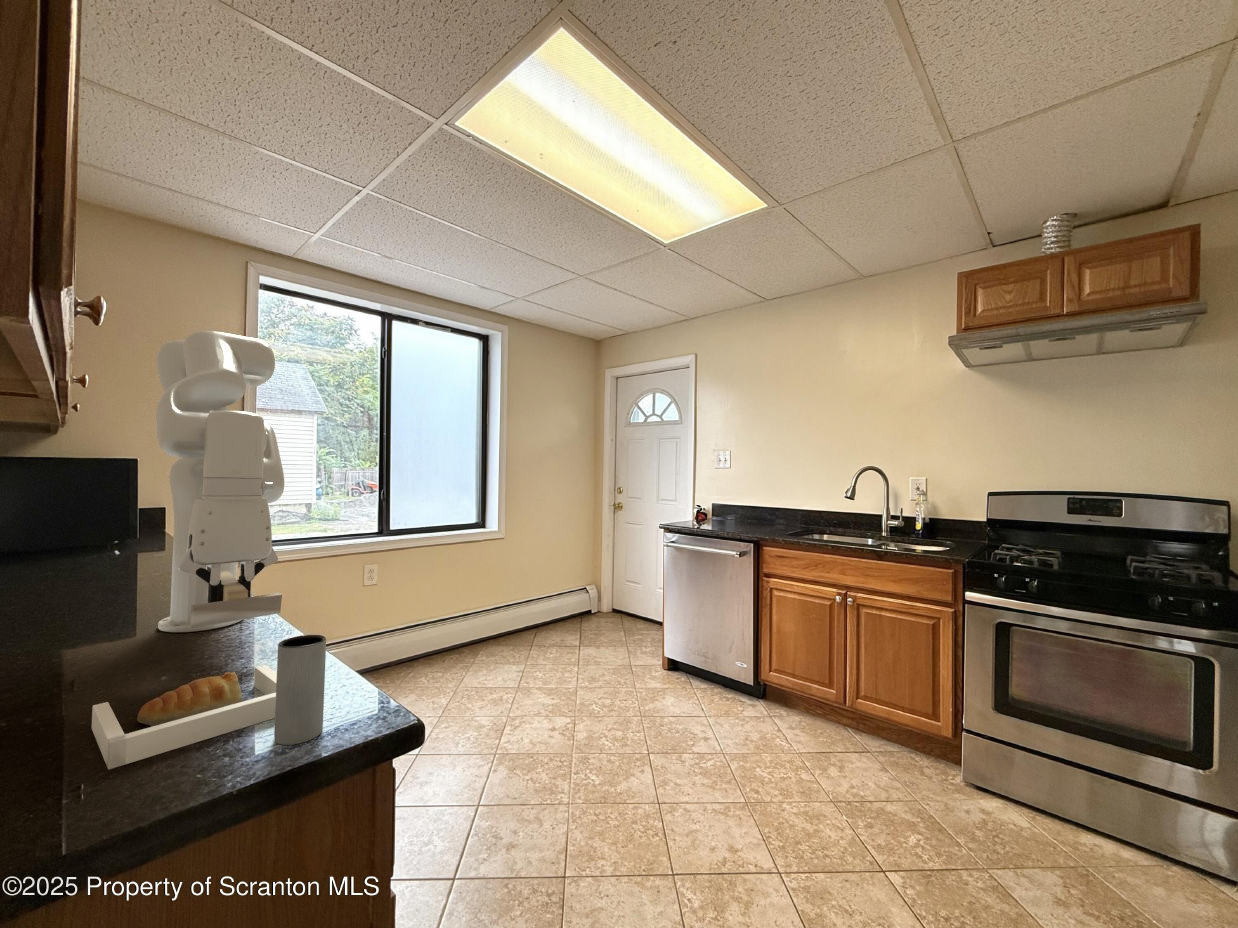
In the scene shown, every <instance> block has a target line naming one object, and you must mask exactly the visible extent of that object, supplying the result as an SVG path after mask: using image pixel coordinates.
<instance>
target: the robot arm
mask: <svg viewBox="0 0 1238 928" xmlns="http://www.w3.org/2000/svg"><path fill="white" fill-rule="evenodd" d="M156 361H157V362H156V364H157V373H158V379H159V381H160V384H161V387H162V389H163V393H162V394H161V396H160V398H159V400H158V402H157V407H156V414H155V416H156V417H155V418H156V420H155V421H156V435H157V436H156V437H157V442H158V446H159V447H160V449H161V450H162V451H163V452H164V453H165V454H166V455H168V456H170V457H175V458H179V459H177V460H176V461H175V462H173V464H172V466H171V467H170V470H169V477H168V478H169V486H170V494H171V499H172V508H173V536H172V537H173V541H172V545H173V546H172V561H171V563H172V565H171V566H172V567H171V583H170V584H171V586H170V587H171V588H170V610H169V611H170V612H169V616H167V617H164V618H162V619H160V620H159V621H158V623H157V627H158V630H159V631H162V632H165V633H191V632H192V633H193V632H200V631H208V630H214V629H219V628H224V627H227V626H230V625H231V626H232V625H234V624H236V623H239V622H241V621H243V620H244V619H242V620H236V621H230V622H225V623H219V624H213V625H207V626H201V627H195V628H191V627H190V616H191V605H198V604H205V603H212V602H219V601H223V587H224V585H222V584H221V580H220V574H221V571H226V570H228V571H229V572H230V573H231V574H232V575H233V576H234V577H235V578H236V579H237V580H238V581H239V583H240V584H241V585H243V586H244V587H245V588H246V589H247V590H248V597H253V594H252V592H251V590H252V589H251V588H252V581H253V580H254V579H255V577H256V576H257V575H258V574H259V573H260V572H262V570H264V568H268V567H269V566H272V565H273V564H275V563H276V562H278V561H279V557H278V555H277V554H276V551H275V550H274V547H273V534H272V533H273V532H272V522H271V521H272V520H271V514H270V509H269V504H272V503H275V502H277V501H278V500H279V499H281V497H282V495H283V493H284V490H285V474H284V468H283V464H282V461H281V460H282V459H281V458H282V457H281V454H280V450H279V445H278V440H277V437H276V432H275V430H274V429H273V427H272V426H271V425H270V424H269V423H268V422H266V421H265V420H264V418H263V417H262V416H261V415H260V414H257V413H253V412H249V411H242V410H241V411H239V410H228V406H232V405H234V404H235V403H238V402H239V401H240V400H241V399H242V398H243V396H244V395H245V393H246V389H247V388H248V389H249V388H250V389H251V388H252V389H253V388H257V387H259V386H261V385H263V384H264V383H266V382H268V381H269V380H270V379H271V378H272V376H273V375H274V372H275V368H276V358H275V354H274V352H273V349H272V347H271V346H270V345H269V343H267V342H266V341H264V340H262V339H259V338H254V337H250V336H249V337H248V336H244V335H237V334H232V333H227V332H221V331H216V330H215V331H214V330H200V331H199V330H198V331H195V332H192V333H191V334H189V335H187V337H186V338H185V339H178V340H177V339H176V340H170V341H167V342H164V343H163V344H162V345H161V346H160V348H159V349H158V352H157V357H156ZM238 563H239V576H238V578H237V575H238ZM207 593H208V596H207Z"/></svg>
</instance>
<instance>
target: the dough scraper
mask: <svg viewBox="0 0 1238 928" xmlns="http://www.w3.org/2000/svg"><path fill="white" fill-rule="evenodd" d="M220 580H221V584H222V585H224V587H223V601H219V602H212V603H205V604H198V605H191V616H190V627H191V628H195V627H201V626H207V625H213V624H219V623H225V622H230V621H236V620H241V621H243V620H248V619H253V618H254V619H255V618H259V617H263V616H265V617H266V616H271V615H277V614H281V612H282V611H281V609H282V597H283V594H282V593H281V592H275V593H268V594H263V595H255V596H252V597H248V590H247V589H246V588H245V587H244V586H243V585H241V584H240V583H239V581H238V578H237V579H236V578H235V577H234V576H233V575H232V574H231V573H230V572H229V571H228V570H226V571H221V574H220ZM207 596H208V593H207ZM242 619H243V620H242Z"/></svg>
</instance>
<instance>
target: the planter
mask: <svg viewBox="0 0 1238 928" xmlns="http://www.w3.org/2000/svg"><path fill="white" fill-rule="evenodd" d="M326 652H327V637H326V636H324V635H322V634H321V635H320V634H303V635H301V634H300V635H296V636H291V637H288V638H286V639H283V640H281V641H279V642H278V645H277V662H276V663H277V664H276V673H277V681H276V705H275V718H274V730H273V731H274V735H273V738H274V741H275V743H276V744H279V745H285V746H288V745H289V746H290V745H291V746H292V745H293V746H294V745H298V744H302V743H305V742H309V741H310V740H313V739H315V738H317V737H318V736H319V735H320V734H321V733H322V732H323V727H324V726H323V725H324V705H325V681H326V680H325V679H326V659H327V658H326V656H327V653H326Z"/></svg>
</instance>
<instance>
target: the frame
mask: <svg viewBox="0 0 1238 928" xmlns="http://www.w3.org/2000/svg"><path fill="white" fill-rule="evenodd" d="M253 681H254V682H253V687H255V688H256V689H257V690H258V691H260V692H261V693H262V694H263V695H262V696H258V697H255V698H250V699H246V700H244V701H243V700H242V702H240V703H236V704H232V705H229V706H225V707H222V708H218V709H214V710H211V711H207V712H204V713H200V714H196V715H193V716H189V717H185V718H182V719H178V720H175V721H171V722H167V723H164V724H160V725H157V726H150V727H146V728H143V729H139V730H135V731H132V732H129V733H125V732H124V730H123V728H122V726H121V725H120V723H119V721H118V719H117V717H116V714H115V713H114V710H113V709H112V707H111V706H110V703H109V702H108V701H106V702H102V703H101V702H100V703H98V704H94V705H92V712H91V730H92V732H93V735H94V738H95V741H96V743H97V745H98V749H99V750H100V752H101V756H102V758H103V760H104V762H105V764H106V767H107V770H112V769H115V768H118V767H122V766H124V765H128V764H130V763H134V762H137V761H141V760H144V759H147V758H150V757H153V756H156V755H160V754H163V753H167V752H170V751H172V750H176V749H179V748H183V747H186V746H189V745H192V744H195V743H198V742H201V741H205V740H208V739H211V738H214V737H217V736H221V735H224V734H228V733H231V732H234V731H237V730H241V729H244V728H246V727H251V726H253V725H256V724H260V723H263V722H265V721H269V720H273V719H275V705H276V681H277V671H275V670H274V669H272V668H270V666H268V665H266V664H262V665H258V666H255V667H254V678H253Z"/></svg>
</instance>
